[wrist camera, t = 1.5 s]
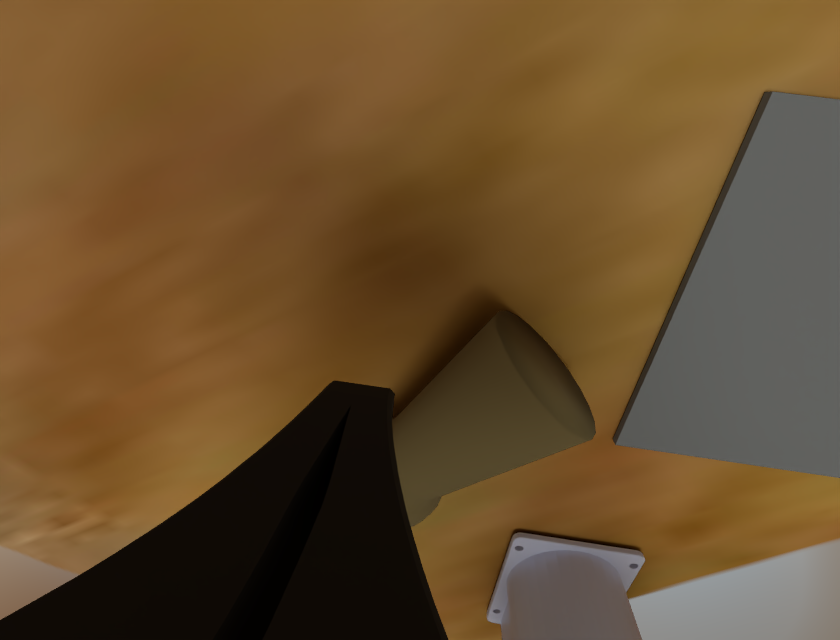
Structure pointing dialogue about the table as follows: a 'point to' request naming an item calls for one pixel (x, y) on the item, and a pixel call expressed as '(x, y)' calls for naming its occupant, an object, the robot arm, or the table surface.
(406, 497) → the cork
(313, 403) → the robot arm
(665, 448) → the topple mat
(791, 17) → the table surface
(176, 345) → the table surface
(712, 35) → the table surface
